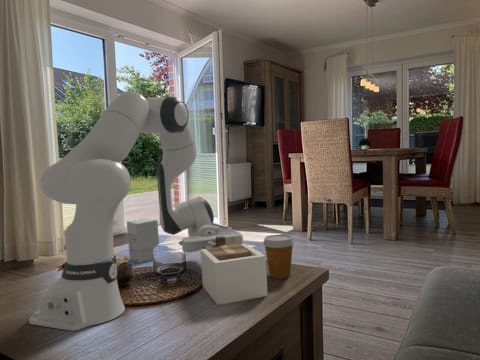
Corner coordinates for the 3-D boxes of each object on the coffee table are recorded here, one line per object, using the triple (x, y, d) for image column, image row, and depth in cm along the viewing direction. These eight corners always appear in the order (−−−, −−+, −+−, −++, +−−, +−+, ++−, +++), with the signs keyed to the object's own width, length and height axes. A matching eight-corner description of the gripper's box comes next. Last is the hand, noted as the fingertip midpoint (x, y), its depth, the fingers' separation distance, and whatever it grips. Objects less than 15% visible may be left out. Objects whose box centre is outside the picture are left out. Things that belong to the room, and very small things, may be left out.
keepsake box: (202, 286, 114) (200, 249, 113) (246, 278, 118) (245, 243, 118) (217, 305, 99) (215, 263, 98) (267, 295, 103) (265, 255, 103)
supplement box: (150, 254, 155) (147, 217, 154) (160, 258, 148) (158, 219, 147) (128, 259, 149) (126, 221, 148) (139, 263, 143) (136, 223, 141)
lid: (203, 250, 118) (203, 238, 118) (234, 246, 121) (233, 234, 121) (216, 262, 105) (215, 247, 105) (250, 257, 108) (249, 243, 108)
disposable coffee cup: (297, 279, 115) (295, 240, 114) (265, 281, 115) (263, 241, 115) (293, 270, 125) (291, 233, 124) (264, 271, 125) (262, 235, 124)
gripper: (177, 232, 129) (185, 240, 116) (234, 226, 136) (248, 233, 123) (178, 251, 130) (186, 261, 117) (235, 243, 136) (249, 252, 123)
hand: (218, 246), depth 120 cm, fingers closed, pressing on lid
